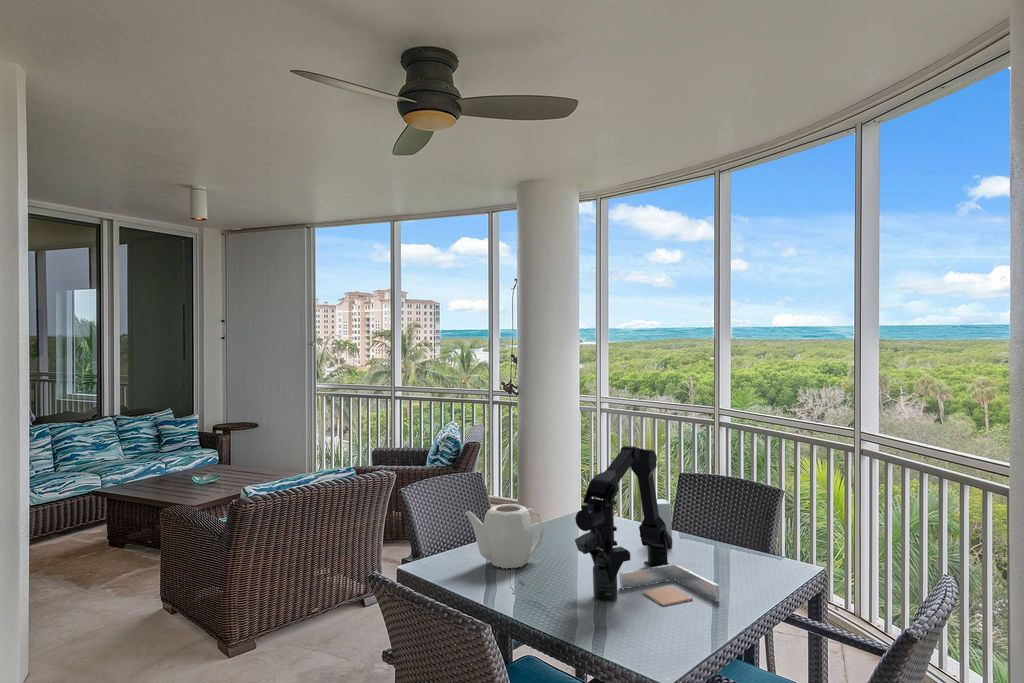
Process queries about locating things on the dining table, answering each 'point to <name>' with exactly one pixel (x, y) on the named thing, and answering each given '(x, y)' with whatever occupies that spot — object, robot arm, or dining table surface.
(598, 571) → the supplement bottle
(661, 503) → the skincare box
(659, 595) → the terracotta tile
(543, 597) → the dining table surface
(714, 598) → the corner walls
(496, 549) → the white teapot
